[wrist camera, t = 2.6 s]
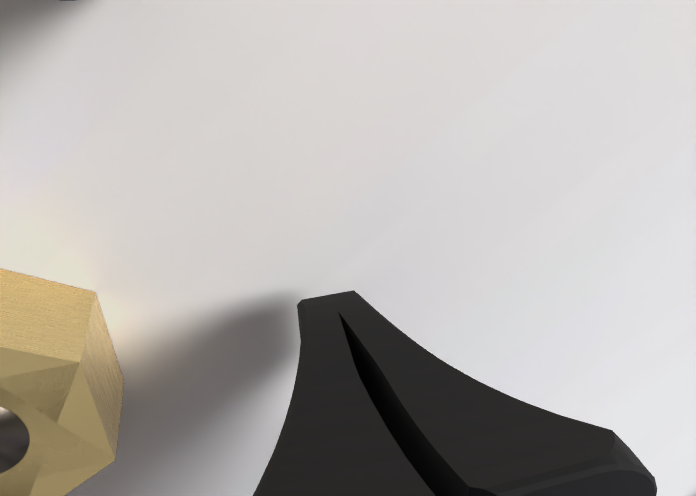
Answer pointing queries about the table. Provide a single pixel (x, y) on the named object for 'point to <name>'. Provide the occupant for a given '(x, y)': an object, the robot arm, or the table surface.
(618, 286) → the table surface
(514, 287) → the table surface
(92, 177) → the table surface
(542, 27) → the table surface
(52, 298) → the nut
